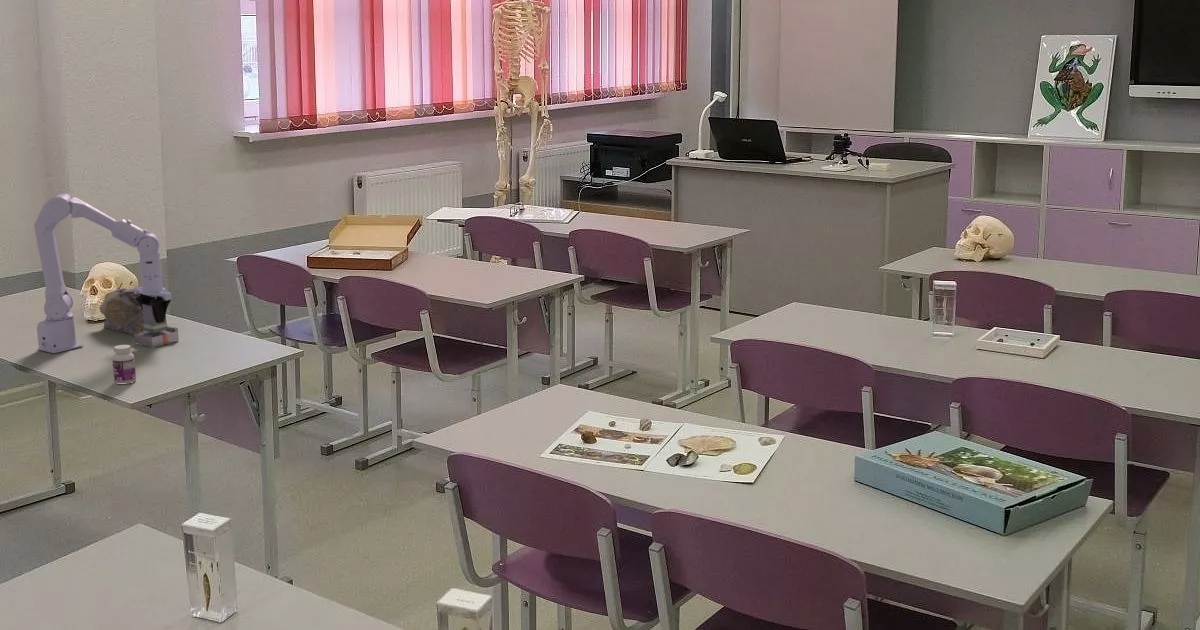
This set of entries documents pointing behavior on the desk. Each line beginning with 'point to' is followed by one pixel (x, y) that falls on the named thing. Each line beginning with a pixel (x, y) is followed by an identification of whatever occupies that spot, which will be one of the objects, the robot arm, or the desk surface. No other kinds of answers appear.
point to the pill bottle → (123, 364)
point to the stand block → (157, 337)
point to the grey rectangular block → (152, 319)
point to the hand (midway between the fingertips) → (155, 321)
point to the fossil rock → (123, 311)
